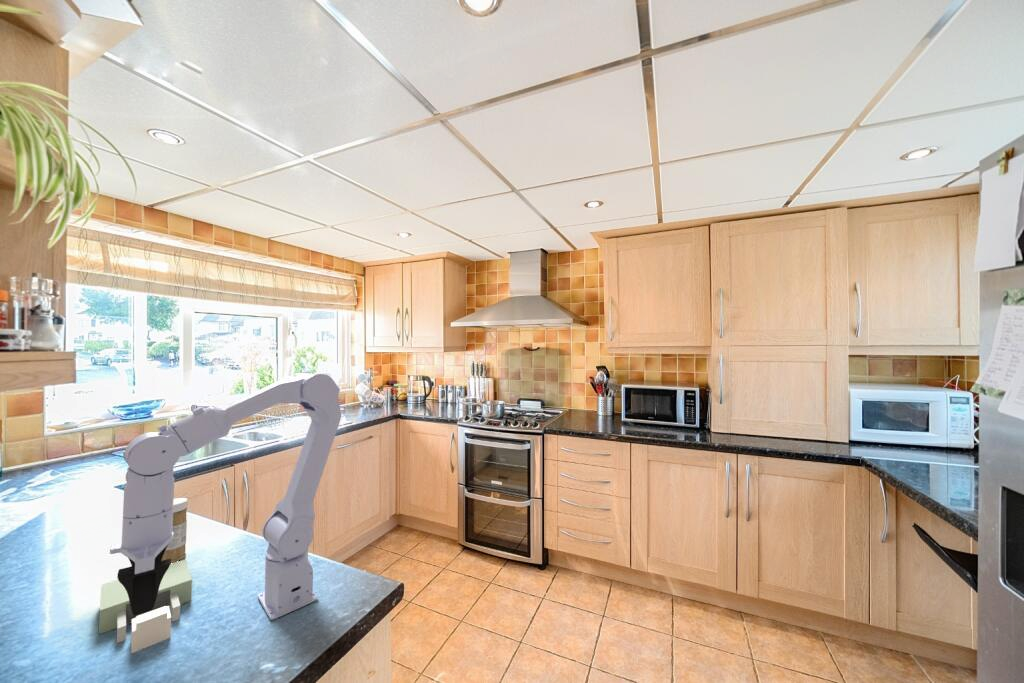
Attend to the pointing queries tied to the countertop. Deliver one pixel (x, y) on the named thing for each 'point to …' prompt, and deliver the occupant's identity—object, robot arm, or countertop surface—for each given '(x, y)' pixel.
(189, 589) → the deck
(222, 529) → the countertop surface
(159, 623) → the cream small block
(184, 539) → the sprinkles bottle
